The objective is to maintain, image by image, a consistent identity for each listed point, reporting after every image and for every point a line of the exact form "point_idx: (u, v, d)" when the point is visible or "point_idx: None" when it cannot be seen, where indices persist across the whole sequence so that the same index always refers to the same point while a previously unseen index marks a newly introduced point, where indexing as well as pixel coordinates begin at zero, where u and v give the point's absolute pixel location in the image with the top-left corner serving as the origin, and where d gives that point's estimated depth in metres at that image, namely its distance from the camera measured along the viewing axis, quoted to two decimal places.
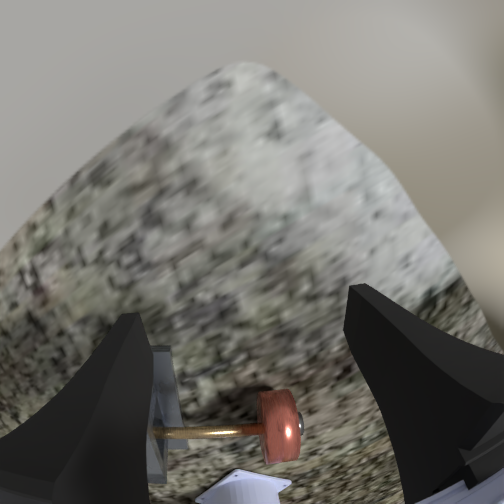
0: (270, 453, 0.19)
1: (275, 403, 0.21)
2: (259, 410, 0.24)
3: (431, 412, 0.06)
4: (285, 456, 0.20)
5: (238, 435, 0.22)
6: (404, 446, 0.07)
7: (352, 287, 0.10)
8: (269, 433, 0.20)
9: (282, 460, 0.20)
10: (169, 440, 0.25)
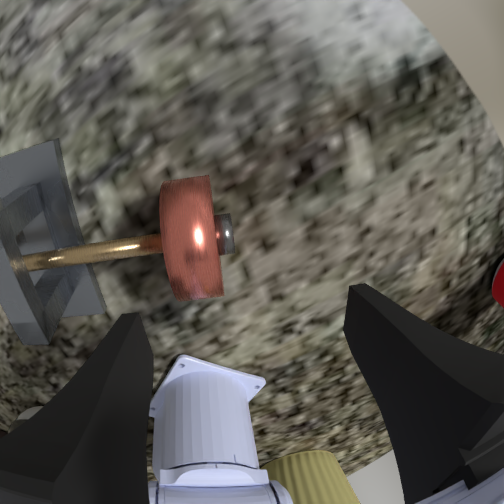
0: (166, 261, 0.13)
1: (178, 182, 0.14)
2: None
3: (431, 412, 0.06)
4: (195, 272, 0.14)
5: (135, 251, 0.15)
6: (404, 446, 0.07)
7: (351, 287, 0.10)
8: (161, 220, 0.13)
9: (194, 284, 0.14)
10: (78, 298, 0.20)
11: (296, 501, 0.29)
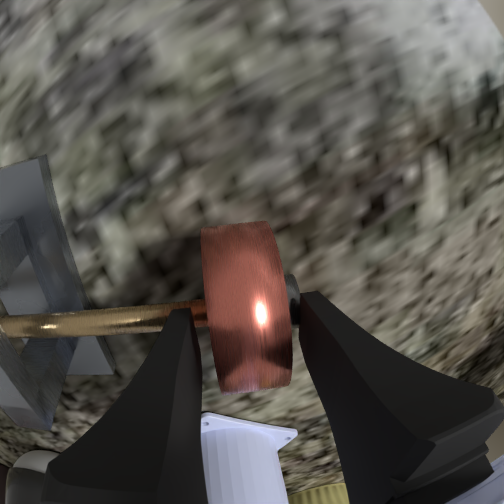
0: (216, 362, 0.09)
1: (226, 236, 0.10)
2: None
3: (367, 435, 0.06)
4: (257, 373, 0.09)
5: (159, 326, 0.11)
6: (349, 464, 0.07)
7: (301, 295, 0.10)
8: (208, 303, 0.09)
9: (253, 384, 0.09)
10: (80, 357, 0.15)
11: None
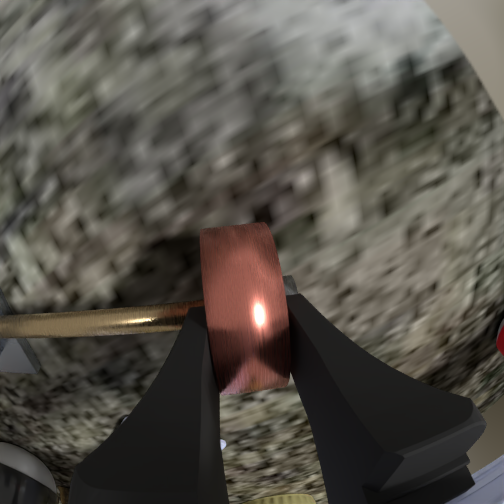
0: (215, 362, 0.09)
1: (226, 237, 0.10)
2: None
3: (341, 442, 0.06)
4: (256, 374, 0.09)
5: (158, 327, 0.11)
6: (327, 470, 0.07)
7: None
8: (207, 304, 0.09)
9: (252, 384, 0.10)
10: (9, 356, 0.15)
11: None
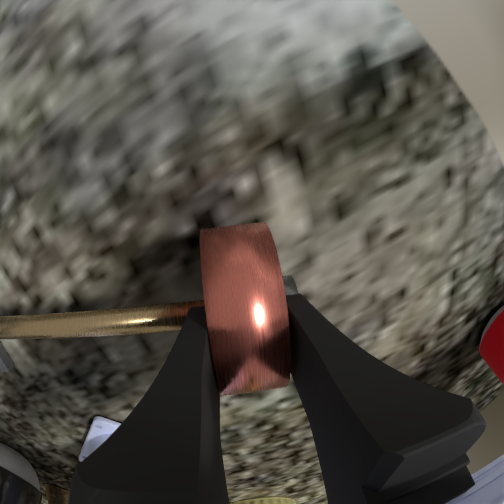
0: (215, 362, 0.09)
1: (225, 237, 0.10)
2: None
3: (341, 442, 0.06)
4: (256, 374, 0.09)
5: (159, 327, 0.11)
6: (327, 470, 0.07)
7: None
8: (207, 305, 0.09)
9: (252, 384, 0.10)
10: None
11: None
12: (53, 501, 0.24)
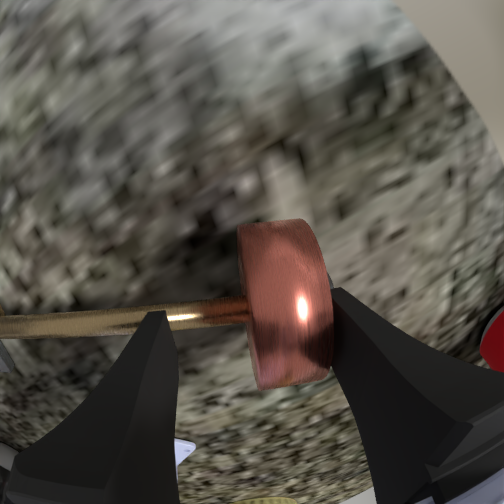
0: (261, 356, 0.09)
1: (267, 232, 0.10)
2: (241, 274, 0.13)
3: (399, 424, 0.06)
4: (299, 367, 0.09)
5: (194, 324, 0.11)
6: (376, 456, 0.07)
7: None
8: (254, 299, 0.09)
9: (293, 378, 0.10)
10: None
11: None
12: None
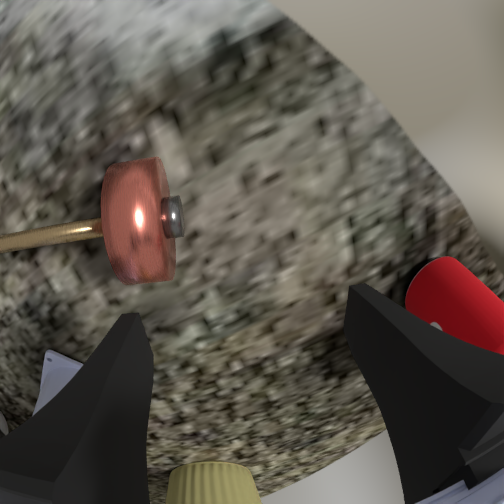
0: (105, 240, 0.12)
1: (125, 163, 0.14)
2: None
3: (431, 412, 0.06)
4: (134, 252, 0.13)
5: (85, 233, 0.15)
6: (404, 446, 0.07)
7: (351, 287, 0.10)
8: (102, 199, 0.12)
9: (134, 265, 0.13)
10: None
11: None
12: None
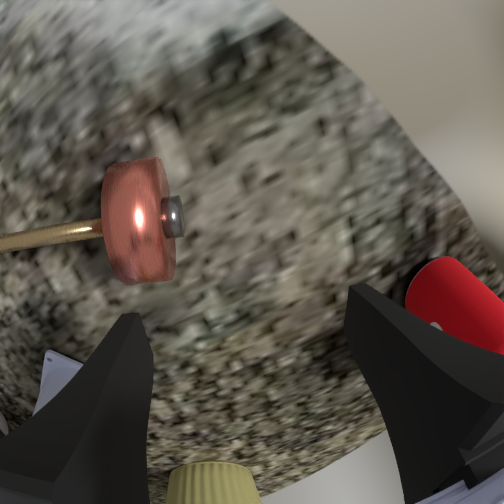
0: (105, 240, 0.12)
1: (125, 163, 0.14)
2: None
3: (431, 412, 0.06)
4: (134, 252, 0.13)
5: (85, 233, 0.15)
6: (404, 446, 0.07)
7: (351, 287, 0.10)
8: (102, 199, 0.12)
9: (134, 265, 0.13)
10: None
11: None
12: None
